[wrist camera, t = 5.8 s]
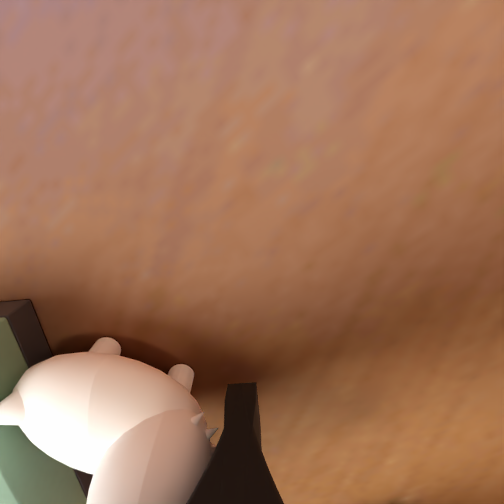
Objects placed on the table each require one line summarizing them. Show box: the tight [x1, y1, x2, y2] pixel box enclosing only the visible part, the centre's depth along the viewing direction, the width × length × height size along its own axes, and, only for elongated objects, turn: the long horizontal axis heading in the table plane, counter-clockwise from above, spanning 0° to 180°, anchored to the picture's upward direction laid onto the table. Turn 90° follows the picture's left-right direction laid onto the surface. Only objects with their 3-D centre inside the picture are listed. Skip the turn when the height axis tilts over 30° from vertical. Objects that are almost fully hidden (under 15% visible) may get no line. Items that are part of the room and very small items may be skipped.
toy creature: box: [0, 337, 218, 504], centre depth 10 cm, size 5×8×6 cm, turn 65°
